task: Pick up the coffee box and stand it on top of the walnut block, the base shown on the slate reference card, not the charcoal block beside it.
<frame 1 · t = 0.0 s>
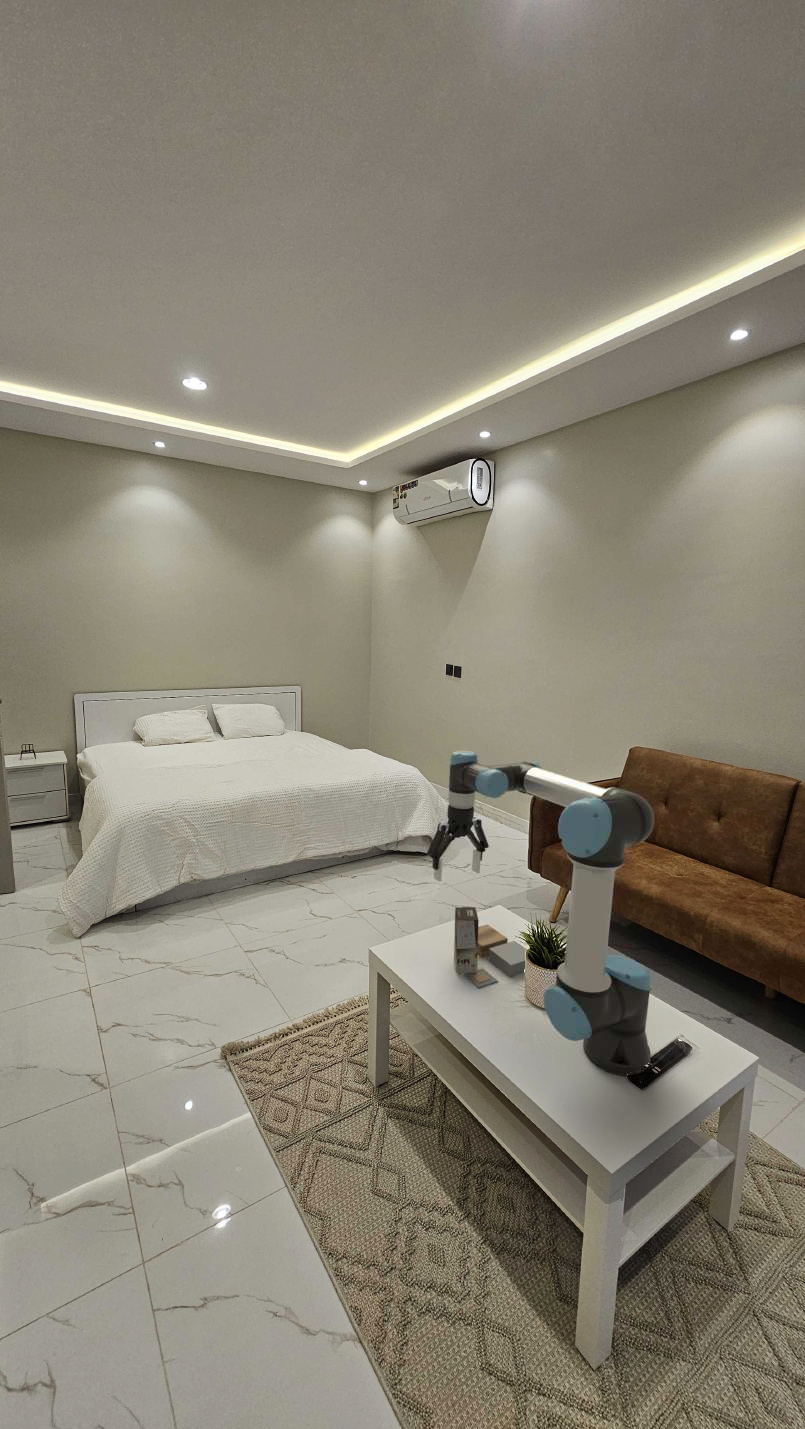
hand: (456, 875, 175), 28 cm above the table, tool pointing down, fingers open, 13 cm apart
charcoal block: (511, 964, 181), on the table
walnut block: (484, 946, 190), on the table
coffee box: (465, 965, 179), on the table, touching reference card
reference card: (480, 978, 173), on the table
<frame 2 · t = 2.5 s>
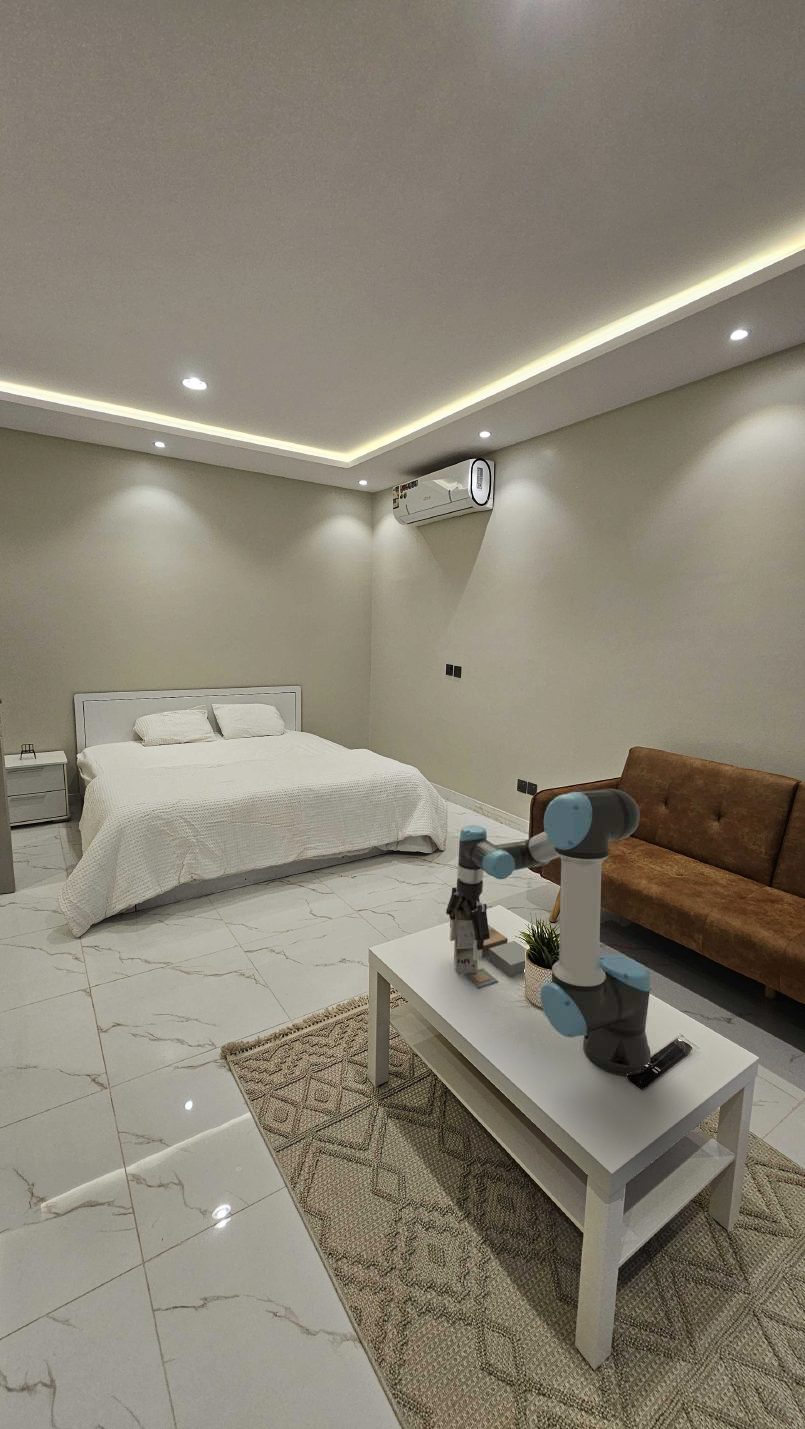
hand: (465, 948, 179), 5 cm above the table, tool pointing down, fingers closed on coffee box, 11 cm apart
coffee box: (465, 965, 179), on the table, touching gripper, reference card
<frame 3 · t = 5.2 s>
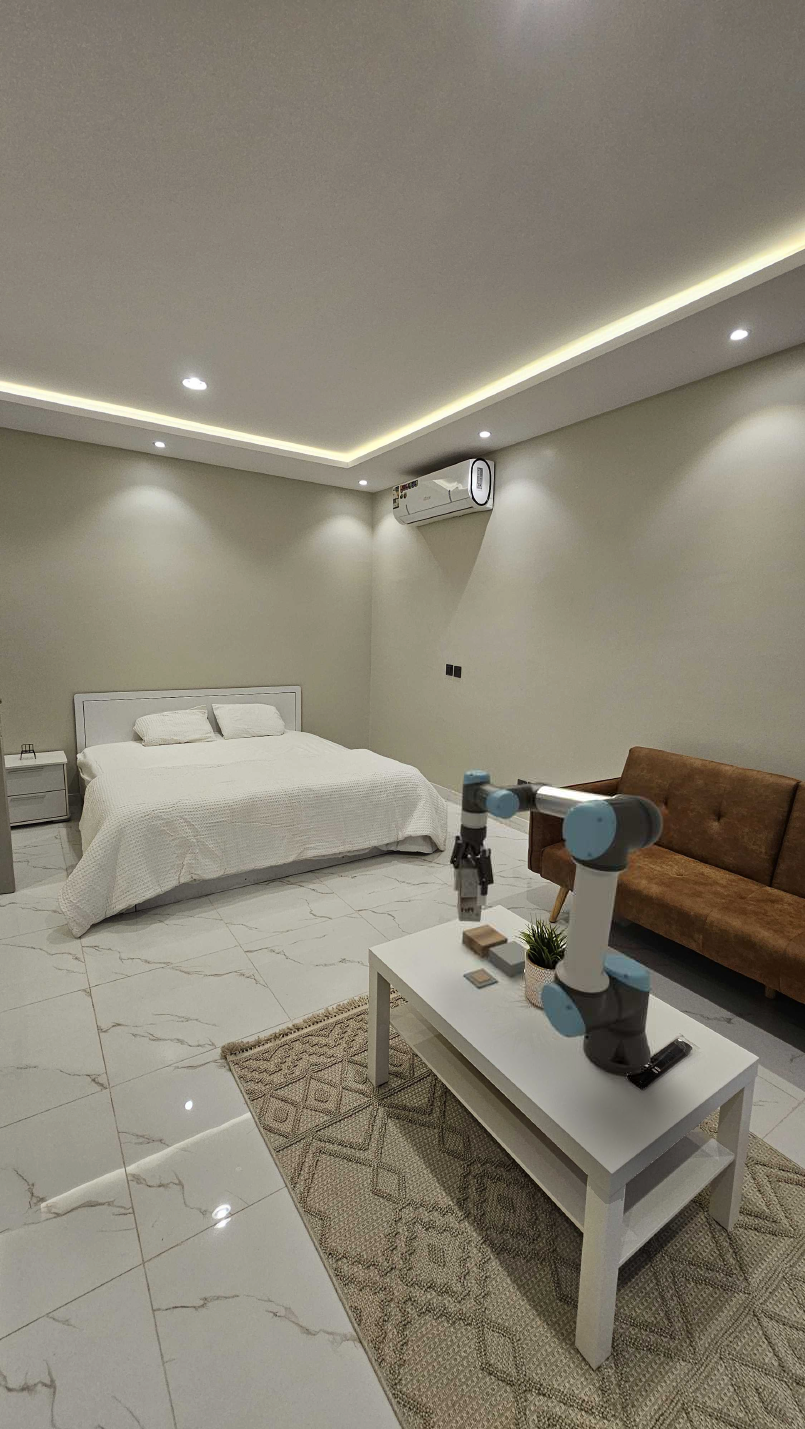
hand: (469, 897, 176), 22 cm above the table, tool pointing down, fingers closed on coffee box, 10 cm apart
coffee box: (468, 914, 177), point 16 cm above the table, touching gripper
when the fingers open (10 cm above the table, at t = 8.1 s): coffee box stays where it is, resting on walnut block.
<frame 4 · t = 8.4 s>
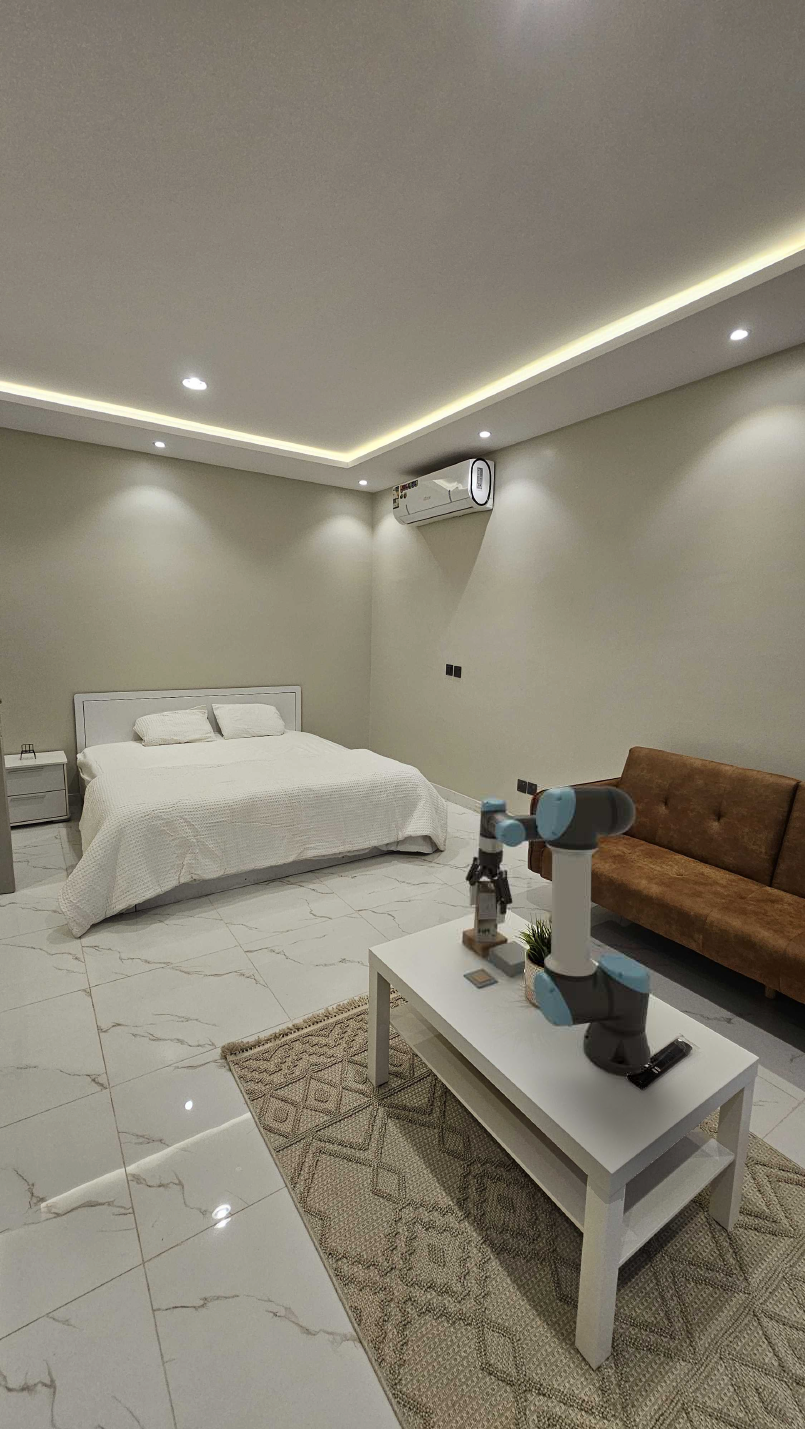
hand: (486, 913, 189), 11 cm above the table, tool pointing down, fingers open, 13 cm apart
coffee box: (484, 935, 190), point 4 cm above the table, touching walnut block
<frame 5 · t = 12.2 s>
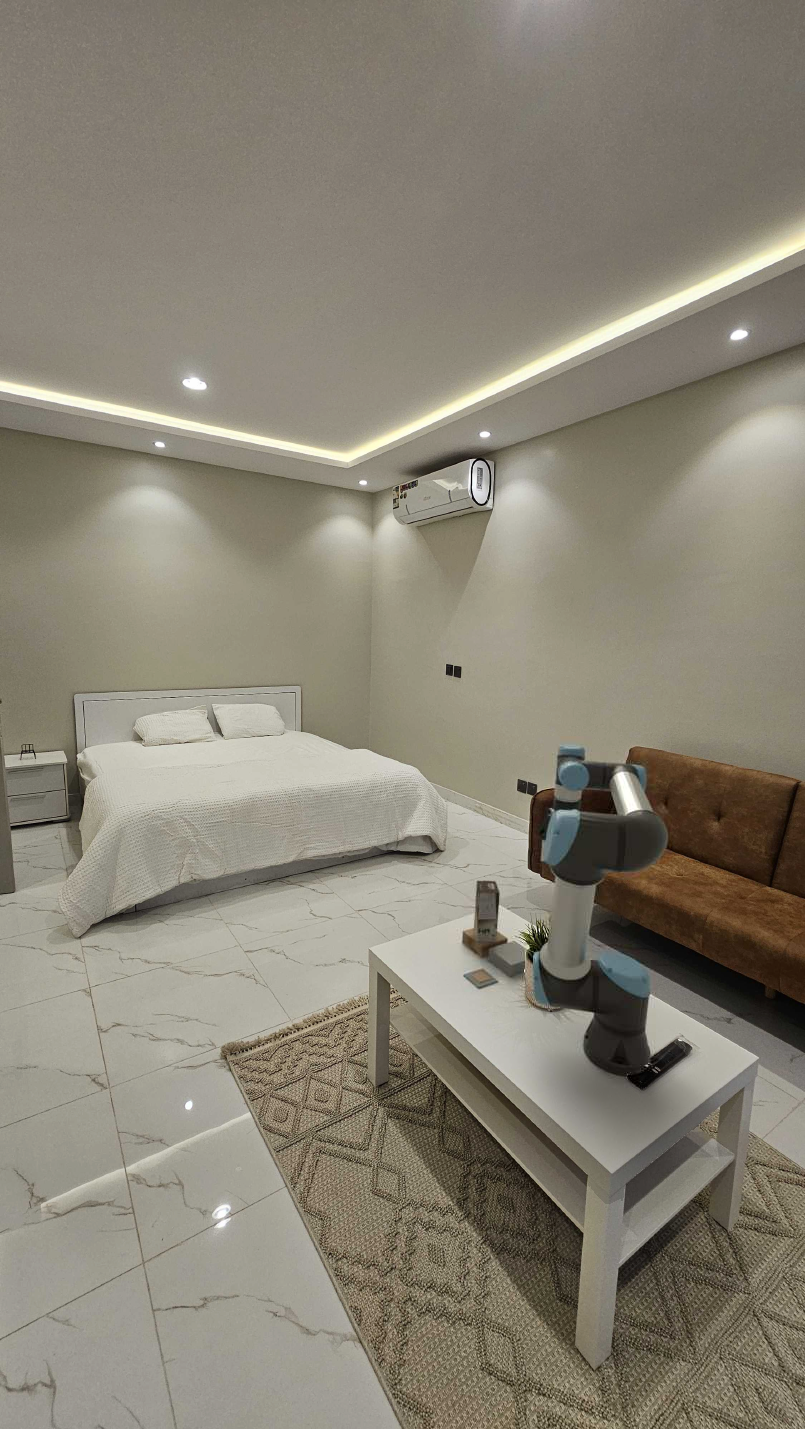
hand: (561, 868, 177), 31 cm above the table, tool pointing down, fingers open, 13 cm apart
nothing on the table moved.
at the end: coffee box 0.1 cm off-centre on the walnut block, point 3.8 cm above the walnut block's base; coffee box tilted 0°; the gripper is holding nothing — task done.
